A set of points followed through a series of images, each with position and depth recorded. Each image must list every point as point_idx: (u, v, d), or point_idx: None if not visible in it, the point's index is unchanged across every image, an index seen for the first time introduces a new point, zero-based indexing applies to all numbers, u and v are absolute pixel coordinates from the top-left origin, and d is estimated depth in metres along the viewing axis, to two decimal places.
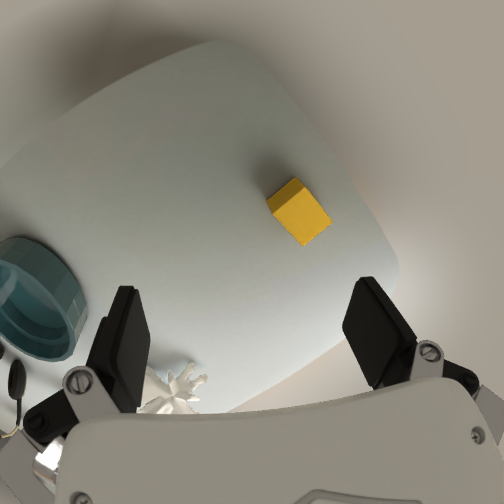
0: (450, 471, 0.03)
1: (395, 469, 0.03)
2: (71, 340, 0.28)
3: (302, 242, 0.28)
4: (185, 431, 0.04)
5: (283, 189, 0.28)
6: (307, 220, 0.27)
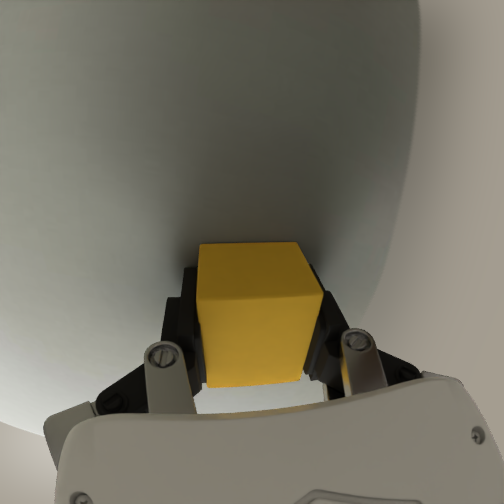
0: (450, 471, 0.03)
1: (395, 469, 0.03)
2: None
3: (213, 383, 0.10)
4: (185, 431, 0.04)
5: (257, 251, 0.11)
6: (258, 357, 0.10)
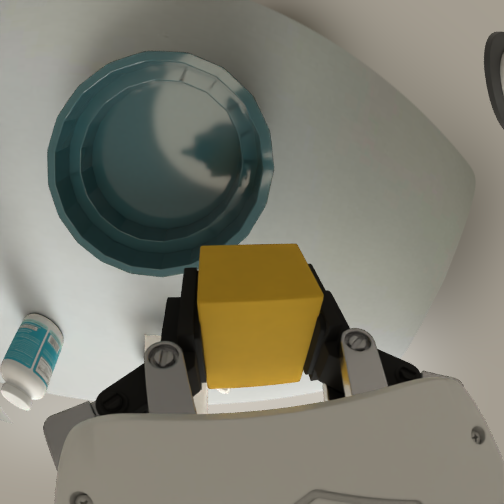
0: (450, 471, 0.03)
1: (395, 469, 0.03)
2: (196, 263, 0.22)
3: (213, 384, 0.10)
4: (185, 431, 0.04)
5: (257, 253, 0.11)
6: (258, 358, 0.10)
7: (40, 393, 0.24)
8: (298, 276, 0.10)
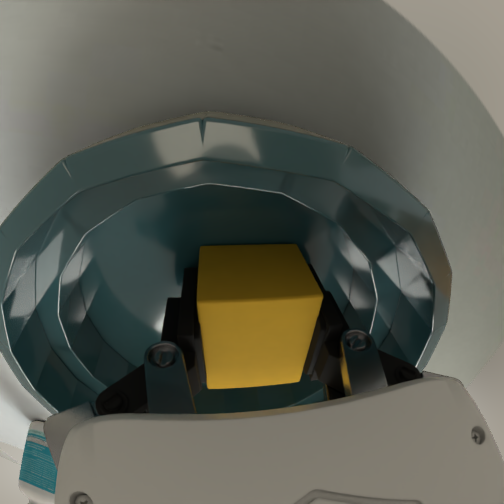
0: (450, 471, 0.03)
1: (395, 469, 0.03)
2: None
3: (213, 384, 0.10)
4: (185, 431, 0.04)
5: (257, 253, 0.11)
6: (258, 358, 0.10)
7: None
8: (298, 276, 0.09)
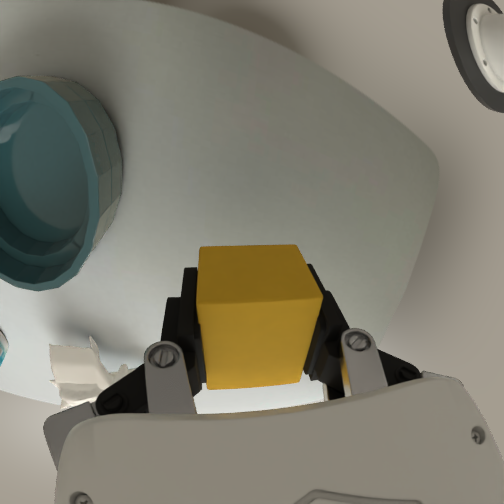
0: (450, 471, 0.03)
1: (395, 469, 0.03)
2: (58, 279, 0.18)
3: (213, 385, 0.10)
4: (185, 431, 0.04)
5: (257, 254, 0.11)
6: (258, 359, 0.10)
7: None
8: (297, 277, 0.09)
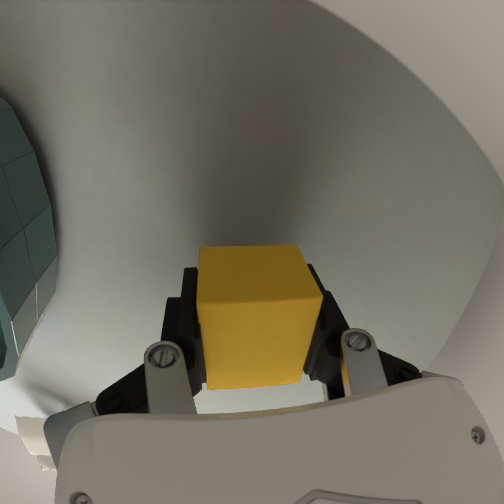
0: (450, 471, 0.03)
1: (395, 469, 0.03)
2: None
3: (213, 384, 0.10)
4: (185, 431, 0.04)
5: (257, 254, 0.11)
6: (258, 359, 0.10)
7: None
8: (297, 277, 0.09)
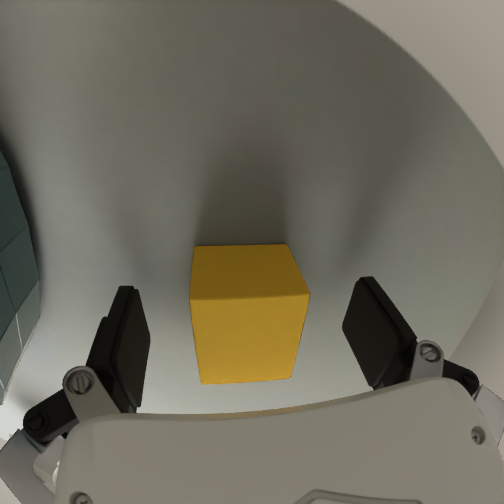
0: (450, 471, 0.03)
1: (395, 469, 0.03)
2: None
3: (206, 379, 0.11)
4: (185, 431, 0.04)
5: (248, 253, 0.11)
6: (249, 355, 0.10)
7: None
8: (286, 275, 0.10)
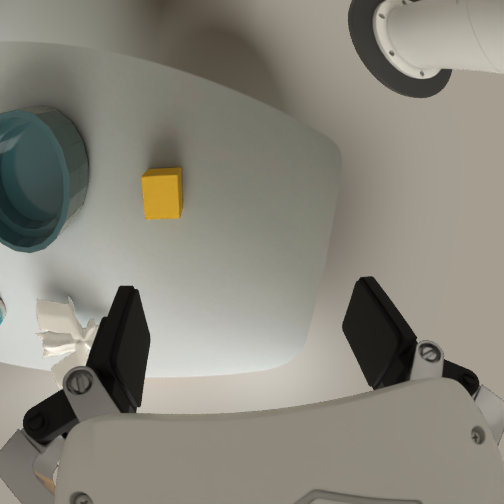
0: (450, 471, 0.03)
1: (395, 469, 0.03)
2: (44, 242, 0.26)
3: (147, 216, 0.29)
4: (185, 431, 0.04)
5: (165, 169, 0.29)
6: (161, 201, 0.29)
7: None
8: (173, 172, 0.28)
